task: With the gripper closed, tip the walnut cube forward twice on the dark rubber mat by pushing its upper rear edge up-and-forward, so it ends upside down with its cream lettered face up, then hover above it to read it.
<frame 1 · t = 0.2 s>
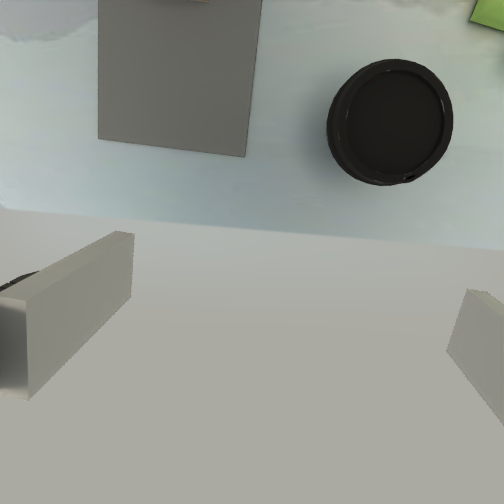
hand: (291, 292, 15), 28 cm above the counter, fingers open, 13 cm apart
rubber mat: (178, 23, 38), on the counter
coffee cup: (354, 130, 39), on the counter
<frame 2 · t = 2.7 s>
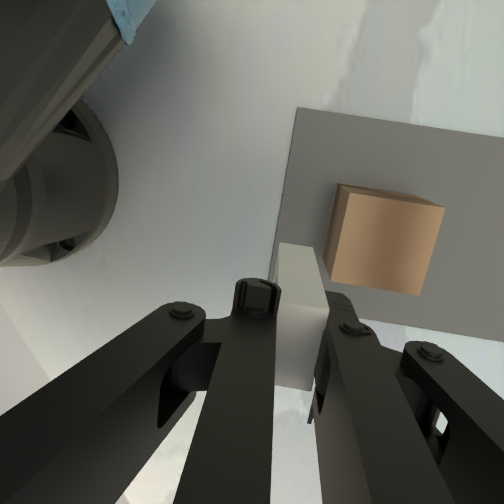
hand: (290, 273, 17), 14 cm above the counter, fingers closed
walnut cube: (366, 225, 30), resting on rubber mat
rubber mat: (427, 234, 31), on the counter
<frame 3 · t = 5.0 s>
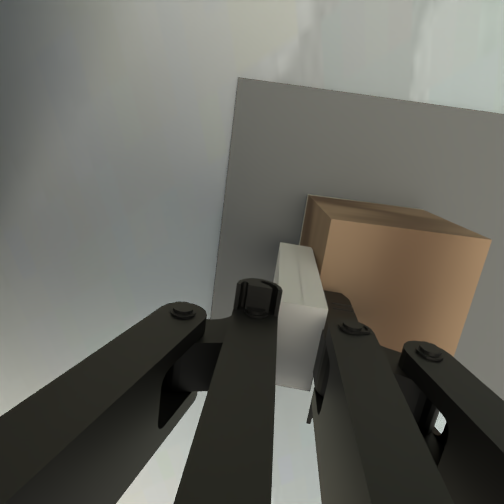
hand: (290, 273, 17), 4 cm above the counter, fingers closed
walnut cube: (353, 256, 20), point 1 cm above the counter, touching gripper, rubber mat
rubber mat: (437, 266, 21), on the counter
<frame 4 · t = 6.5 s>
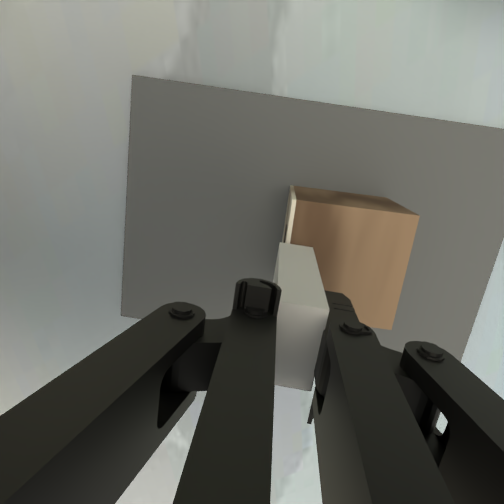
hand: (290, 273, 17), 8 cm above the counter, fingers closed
walnut cube: (283, 243, 22), point 3 cm above the counter, tilted 90°, touching rubber mat
rubber mat: (306, 233, 25), on the counter
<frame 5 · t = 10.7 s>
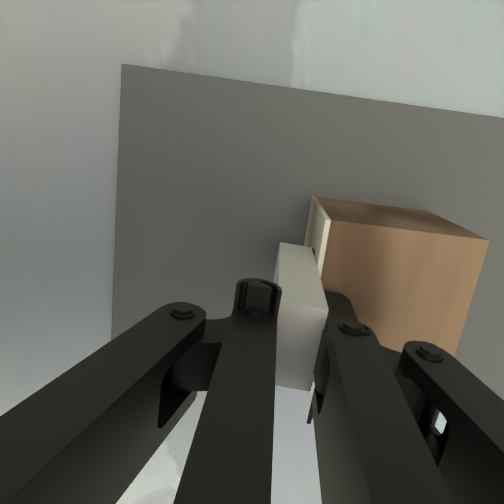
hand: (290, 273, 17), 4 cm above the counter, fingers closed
walnut cube: (307, 269, 18), point 3 cm above the counter, tilted 91°, touching gripper, rubber mat
rubber mat: (330, 253, 21), on the counter
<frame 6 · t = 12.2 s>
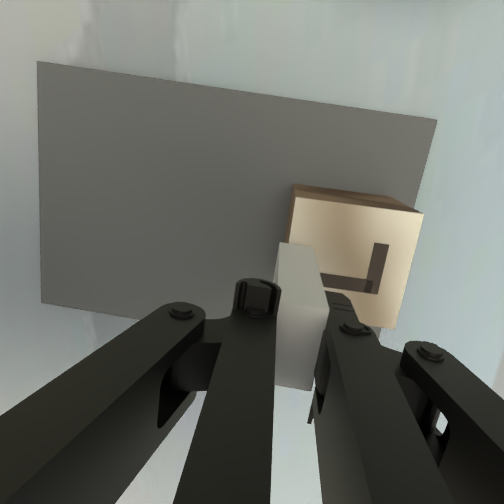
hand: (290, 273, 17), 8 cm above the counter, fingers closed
walnut cube: (347, 265, 19), point 6 cm above the counter, tilted 180°, touching rubber mat
rubber mat: (218, 220, 25), on the counter
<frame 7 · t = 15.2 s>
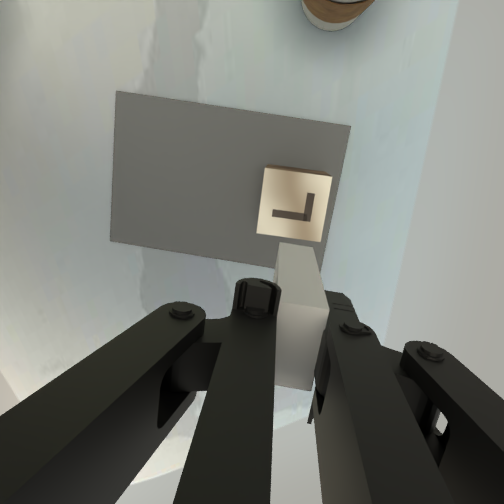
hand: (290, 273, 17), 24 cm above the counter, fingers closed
walnut cube: (293, 205, 34), point 6 cm above the counter, tilted 180°, touching rubber mat
rubber mat: (222, 187, 41), on the counter
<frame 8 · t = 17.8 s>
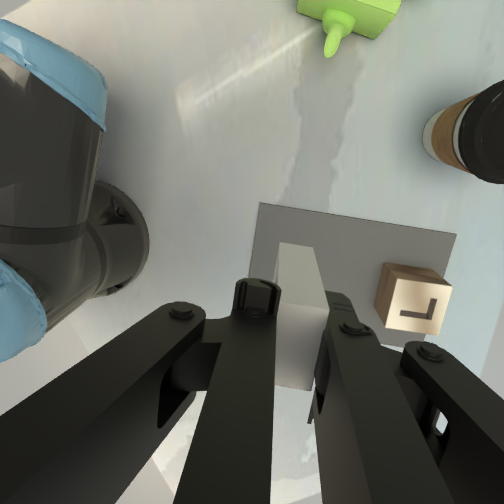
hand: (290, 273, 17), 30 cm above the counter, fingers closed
walnut cube: (418, 307, 42), point 6 cm above the counter, tilted 180°, touching rubber mat
rubber mat: (342, 278, 49), on the counter
coffee cup: (448, 135, 43), on the counter
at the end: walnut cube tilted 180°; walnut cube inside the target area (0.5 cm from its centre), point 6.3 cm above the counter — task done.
